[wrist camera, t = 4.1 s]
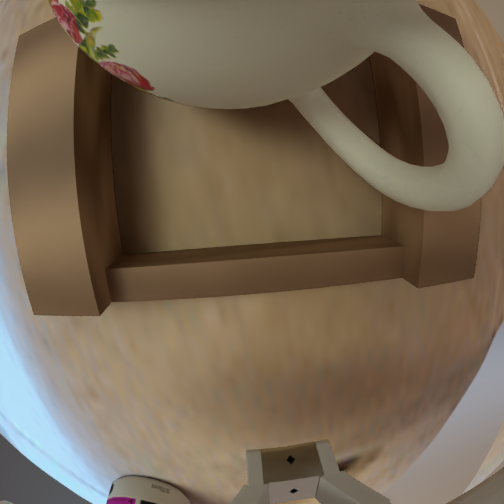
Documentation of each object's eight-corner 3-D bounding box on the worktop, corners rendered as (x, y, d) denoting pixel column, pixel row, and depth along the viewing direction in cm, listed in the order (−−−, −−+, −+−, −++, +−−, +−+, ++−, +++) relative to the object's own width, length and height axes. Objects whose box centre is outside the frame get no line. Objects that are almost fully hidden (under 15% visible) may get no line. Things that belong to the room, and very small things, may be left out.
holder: (55, 56, 11) (19, 36, 7) (418, 39, 12) (455, 18, 8) (69, 286, 15) (34, 314, 11) (432, 257, 16) (473, 277, 12)
